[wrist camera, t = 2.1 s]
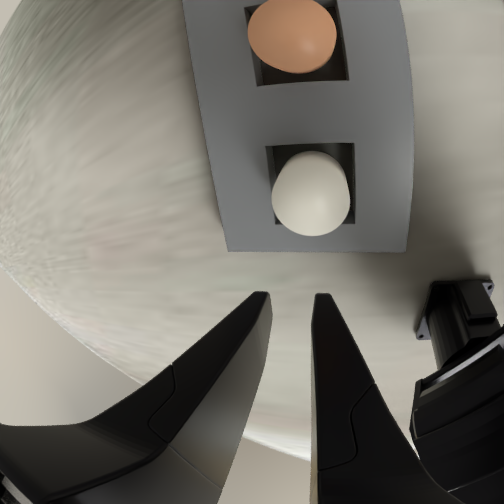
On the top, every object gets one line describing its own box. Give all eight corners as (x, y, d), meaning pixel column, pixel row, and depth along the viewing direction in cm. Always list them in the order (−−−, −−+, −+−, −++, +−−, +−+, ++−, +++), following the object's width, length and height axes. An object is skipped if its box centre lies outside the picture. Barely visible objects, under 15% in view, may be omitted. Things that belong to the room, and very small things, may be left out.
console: (399, 237, 19) (405, 252, 17) (236, 237, 22) (227, 251, 20) (355, -102, 5) (356, -115, 4) (183, -79, 9) (170, -89, 7)
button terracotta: (338, 72, 13) (341, 68, 10) (265, 77, 14) (254, 75, 12) (328, 7, 11) (328, -8, 8) (255, 14, 12) (241, 2, 9)
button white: (346, 213, 17) (349, 236, 15) (283, 214, 18) (275, 236, 16) (345, 149, 15) (349, 162, 13) (275, 152, 16) (266, 164, 14)
